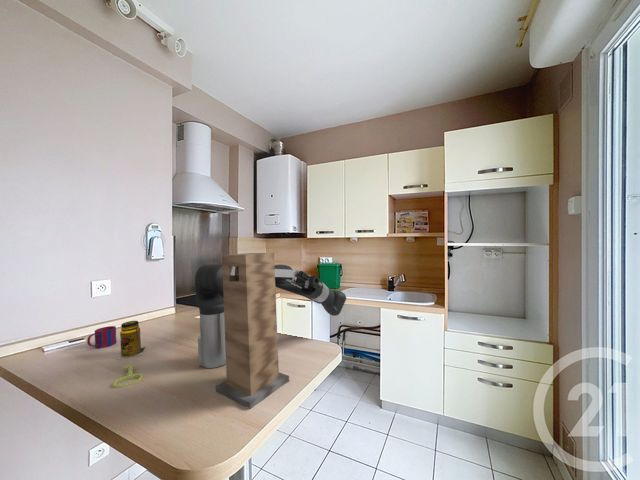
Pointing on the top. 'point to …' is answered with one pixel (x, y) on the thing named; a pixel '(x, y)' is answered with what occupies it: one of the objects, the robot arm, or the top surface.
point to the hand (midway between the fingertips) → (289, 272)
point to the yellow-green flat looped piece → (128, 377)
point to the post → (250, 329)
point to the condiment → (130, 340)
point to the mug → (104, 337)
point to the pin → (278, 272)
